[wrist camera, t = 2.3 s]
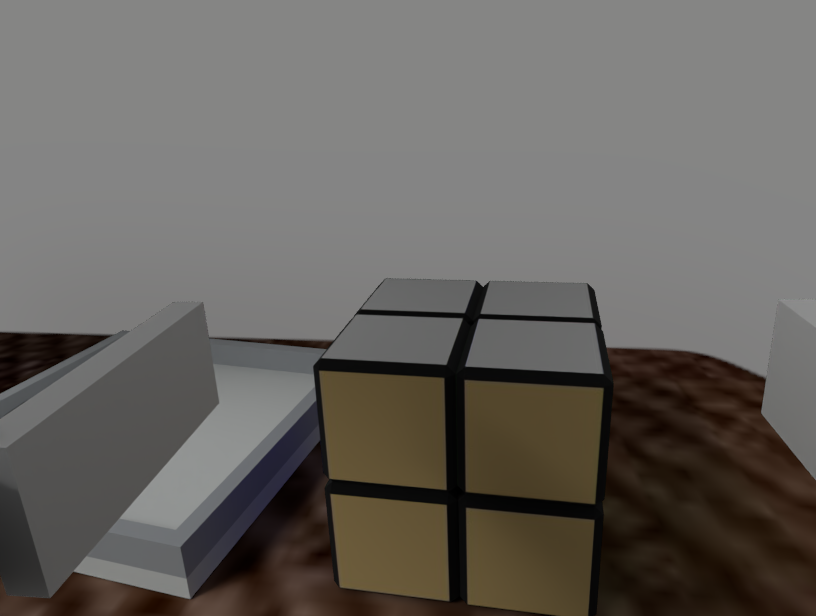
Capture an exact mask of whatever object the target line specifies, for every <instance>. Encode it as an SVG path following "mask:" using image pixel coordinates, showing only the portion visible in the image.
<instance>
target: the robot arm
mask: <svg viewBox="0 0 816 616" xmlns="http://www.w3.org/2000/svg"><path fill="white" fill-rule="evenodd" d="M218 404H219V397H218V391H217V385H216V378H215V372H214V366H213V360H212V354H211V348H210V341H209V335H208V330H207V323H206V317H205V311H204V305H203V302H173V303H171V304H170V305H168V306H167V307H166V308H164V309H163V310H161V311H160V312H158V313H157V314H155V315H154V316H152V317H151V318H149V319H148V320H146V321H145V322H143V323H142V324H140V325H139V326H137V327H136V328H134V329H133V330H131V331H130V332H128V333H127V334H125V335H124V336H122V337H121V338H119V339H118V340H117V341H115V342H114V343H112V344H111V345H109V346H108V347H106V348H105V349H103V350H102V351H100V352H99V353H97V354H96V355H94V356H93V357H91V358H90V359H88V360H87V361H85V362H84V363H82V364H81V365H79V366H78V367H76V368H75V369H73V370H72V371H71V372H69V373H68V374H66V375H65V376H63V377H62V378H60V379H59V380H57V381H56V382H54V383H53V384H51V385H50V386H48V387H47V388H45V389H44V390H42V391H41V392H39V393H38V394H36V395H35V396H33V397H32V398H30V399H29V400H27V401H25V402H23V403H22V404H20V405H19V406H17V407H16V408H14V409H13V410H11V411H10V412H8V413H7V414H5V415H4V417H2V418H0V575H1V578H2V581H3V584H4V587H5V591H6V594H7V595H13V596H28V597H43V598H51V596H52V595H53V594H54V593H55V592H56V591H57V590H58V588H59V587H60V586H61V585H62V584H63V583H64V581H65V580H66V579H67V578H68V577H69V576H70V575H71V573H72V572H73V571H74V570H75V569H76V568H77V566H78V565H79V564H80V563H81V562H82V561H83V560H84V558H85V557H86V556H87V555H88V554H89V553H90V552H91V550H92V549H93V548H94V547H95V546H96V545H97V543H98V542H99V541H100V540H101V539H102V538H103V537H104V535H105V534H106V533H107V532H108V531H109V530H110V528H111V527H112V526H113V525H114V524H115V523H116V522H117V520H118V519H119V518H120V517H121V516H122V515H123V513H124V512H125V511H126V510H127V509H128V508H129V507H130V505H131V504H132V503H133V502H134V501H135V500H136V498H137V497H138V496H139V495H140V494H141V493H142V492H143V490H144V489H145V488H146V487H147V486H148V485H149V484H150V482H151V481H152V480H153V479H154V478H155V477H156V475H157V474H158V473H159V472H160V471H161V470H162V469H163V467H164V466H165V465H166V464H167V463H168V462H169V460H170V459H171V458H172V457H173V456H174V455H175V454H176V452H177V451H178V450H179V449H180V448H181V447H182V445H183V444H184V443H185V442H186V441H187V440H188V439H189V437H190V436H191V435H192V434H193V433H194V432H195V430H196V429H197V428H198V427H199V426H200V425H201V424H202V422H203V421H204V420H205V419H206V418H207V417H208V416H209V414H210V413H211V412H212V411H213V410H214V409H215V407H216V406H217V405H218ZM761 414H762V415H763V416H764V417H765V418H766V420H767V421H768V422H769V423H770V425H771V426H772V427H773V428H774V430H775V431H776V432H777V433H778V434H779V436H780V437H781V438H782V439H783V441H784V442H785V443H786V444H787V446H788V447H789V448H790V449H791V450H792V452H793V453H794V454H795V455H796V457H797V458H798V459H799V460H800V461H801V463H802V464H803V465H804V466H805V468H806V469H807V470H808V471H809V473H810V474H811V475H812V476H813V477H814V479H815V480H816V299H785V300H784V299H782V300H781V299H780V300H778V305H777V312H776V319H775V325H774V332H773V338H772V345H771V352H770V358H769V365H768V371H767V378H766V384H765V391H764V397H763V404H762V411H761Z"/></svg>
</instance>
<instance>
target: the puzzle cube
mask: <svg viewBox="0 0 816 616" xmlns="http://www.w3.org/2000/svg"><path fill="white" fill-rule="evenodd" d="M601 327H602V325H601V321H600V316H599V311H598V306H597V301H596V296H595V291H594V289H593V288H592V287H591V286H590V285H589V284H587V283H553V282H514V281H513V282H512V281H489V282H488V283H487V284H486V285H485V286H484V287H482V286H481V285H480V284H479V283H478V282H477V281H470V280H431V279H391V278H386V279H385V280H384V281H383V282H382V283H381V284H380V285H379V286H378V287H377V288H376V290H375V291H374V292H373V293H372V295H371V296H370V297H369V298H368V299H367V301H366V302H365V303H364V304H363V306H362V307H361V308H360V309H359V310H358V312H357V313H356V314H355V315H354V317H353V319H351V320H350V321H349V323H348V324H347V325H346V326H345V328H344V329H343V330H342V331H341V332H340V334H339V335H338V336H337V337H336V339H335V340H334V341H333V342H332V343H331V345H330V346H329V347H328V348H327V350H326V351H325V352H324V353H323V354H322V356H321V357H320V358H319V359H318V361H317V362H316V363H315V364H314V365H313V372H314V382H315V392H316V402H317V412H318V422H319V433H320V443H321V453H322V463H323V473H324V474H325V475H326V476H327V477H328V478H329V481H328V483H327V485H326V487H325V496H326V506H327V515H328V525H329V534H330V544H331V554H332V563H333V573H334V581H335V582H336V584H337V585H338V586H339V588H346V589H353V590H361V591H369V592H377V593H385V594H393V595H401V596H409V597H417V598H425V599H433V600H441V601H448V602H452V601H453V600H455V599H456V598H458V597H459V595H460V597H461V598H462V599H463V600H464V601H465V602H466V603H467V604H468V605H476V606H484V607H492V608H500V609H508V610H516V611H523V612H531V613H539V614H547V615H555V616H594V615H595V614H596V612H597V598H598V584H599V570H600V557H601V543H602V529H603V516H604V514H603V506H602V501H603V500H604V497H605V484H606V472H607V459H608V447H609V434H610V422H611V409H612V397H613V384H614V383H613V378H612V374H611V369H610V364H609V359H608V354H607V349H606V344H605V339H604V334H603V331H602V330H601Z"/></svg>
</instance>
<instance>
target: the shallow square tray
mask: <svg viewBox="0 0 816 616" xmlns="http://www.w3.org/2000/svg"><path fill="white" fill-rule="evenodd" d="M128 332H130V331H121V332H119V333H117V334H115V335H113V336H111V337H109V338H107V339H105V340H103V341H101V342H99V343H98V344H96V345H94V346H92V347H90V348H88V349H86V350H84V351H82V352H80V353H78V354H76V355H74V356H72V357H70V358H69V359H67V360H65V361H63V362H61V363H59V364H57V365H55V366H53V367H51V368H49V369H47V370H45V371H43V372H41V373H40V374H38V375H36V376H34V377H32V378H30V379H28V380H26V381H24V382H22V383H20V384H18V385H16V386H14V387H12V388H11V389H9V390H7V391H5V392H3V393H1V394H0V418H2V417H4V415H5V414H7V413H8V412H10V411H11V410H13V409H14V408H16V407H17V406H19V405H20V404H22V403H23V402H25V401H27V400H29V399H30V398H32V397H33V396H35V395H36V394H38V393H39V392H41V391H42V390H44V389H45V388H47V387H48V386H50V385H51V384H53V383H54V382H56V381H57V380H59V379H60V378H62V377H63V376H65V375H66V374H68V373H69V372H71V371H72V370H73V369H75V368H76V367H78V366H79V365H81V364H82V363H84V362H85V361H87V360H88V359H90V358H91V357H93V356H94V355H96V354H97V353H99V352H100V351H102V350H103V349H105V348H106V347H108V346H109V345H111V344H112V343H114V342H115V341H117V340H118V339H119V338H121V337H122V336H124V335H125V334H127V333H128ZM209 341H210V348H211V354H212V360H213V366H214V372H215V378H216V385H217V391H218V397H219V404H218V405H217V406H216V407H215V409H214V410H213V411H212V412H211V413H210V414H209V416H208V417H207V418H206V419H205V420H204V421H203V422H202V424H201V425H200V426H199V427H198V428H197V429H196V430H195V432H194V433H193V434H192V435H191V436H190V437H189V439H188V440H187V441H186V442H185V443H184V444H183V445H182V447H181V448H180V449H179V450H178V451H177V452H176V454H175V455H174V456H173V457H172V458H171V459H170V460H169V462H168V463H167V464H166V465H165V466H164V467H163V469H162V470H161V471H160V472H159V473H158V474H157V475H156V477H155V478H154V479H153V480H152V481H151V482H150V484H149V485H148V486H147V487H146V488H145V489H144V490H143V492H142V493H141V494H140V495H139V496H138V497H137V498H136V500H135V501H134V502H133V503H132V504H131V505H130V507H129V508H128V509H127V510H126V511H125V512H124V513H123V515H122V516H121V517H120V518H119V519H118V520H117V522H116V523H115V524H114V525H113V526H112V527H111V528H110V530H109V531H108V532H107V533H106V534H105V535H104V537H103V538H102V539H101V540H100V541H99V542H98V543H97V545H96V546H95V547H94V548H93V549H92V550H91V552H90V553H89V554H88V555H87V556H86V557H85V558H84V560H83V561H82V562H81V563H80V564H79V565H78V566H77V568H76V569H75V570H74V571H73V572H78V573H82V574H86V575H90V576H95V577H99V578H103V579H107V580H112V581H116V582H120V583H124V584H129V585H133V586H137V587H141V588H145V589H150V590H154V591H158V592H162V593H167V594H171V595H175V596H179V597H184V598H188V599H191V598H192V597H193V595H194V594H195V593H196V592H197V591H198V589H199V588H200V587H201V586H202V584H203V583H204V582H205V581H206V579H207V578H208V577H209V576H210V575H211V573H212V572H213V571H214V570H215V568H216V567H217V566H218V565H219V564H220V562H221V561H222V560H223V559H224V557H225V556H226V555H227V554H228V552H229V551H230V550H231V549H232V548H233V546H234V545H235V544H236V543H237V541H238V540H239V539H240V538H241V537H242V535H243V534H244V533H245V532H246V530H247V529H248V528H249V527H250V525H251V524H252V523H253V522H254V521H255V519H256V518H257V517H258V516H259V514H260V513H261V512H262V511H263V509H264V508H265V507H266V506H267V505H268V503H269V502H270V501H271V500H272V498H273V497H274V496H275V495H276V494H277V492H278V491H279V490H280V489H281V487H282V486H283V485H284V484H285V482H286V481H287V480H288V479H289V478H290V476H291V475H292V474H293V473H294V471H295V470H296V469H297V468H298V467H299V465H300V464H301V463H302V462H303V460H304V459H305V458H306V457H307V455H308V454H309V453H310V452H311V451H312V449H313V448H314V447H315V446H316V444H317V443H318V442H319V441H320V433H319V422H318V412H317V402H316V392H315V382H314V372H313V365H314V364H315V363H316V362H317V361H318V359H319V358H320V357H321V356H322V354H323V353H324V352H325V351H326V350H327V349H317V348H306V347H295V346H285V345H274V344H263V343H252V342H241V341H231V340H220V339H209Z"/></svg>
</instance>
